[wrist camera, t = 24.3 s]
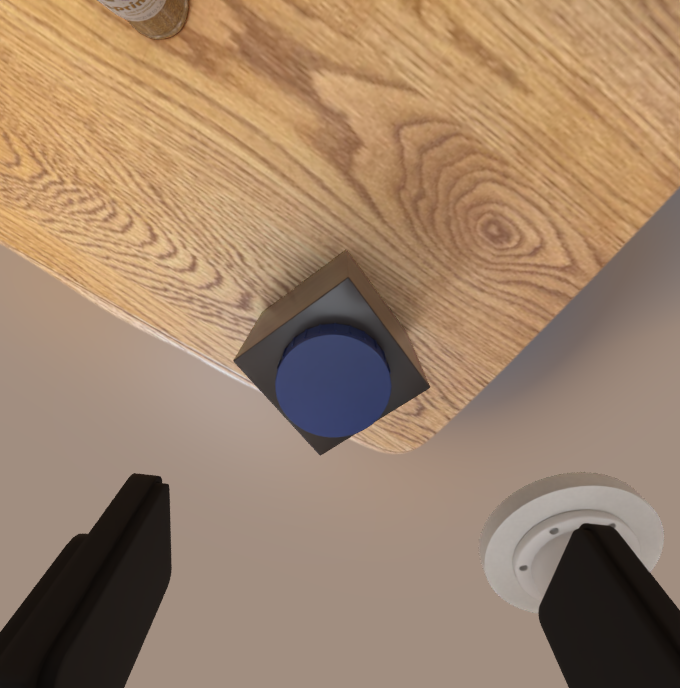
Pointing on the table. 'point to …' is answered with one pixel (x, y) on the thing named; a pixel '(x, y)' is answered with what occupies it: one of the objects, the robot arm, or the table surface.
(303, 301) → the stand
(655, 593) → the robot arm
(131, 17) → the spice jar
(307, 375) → the lid
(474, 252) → the table surface
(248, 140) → the table surface
